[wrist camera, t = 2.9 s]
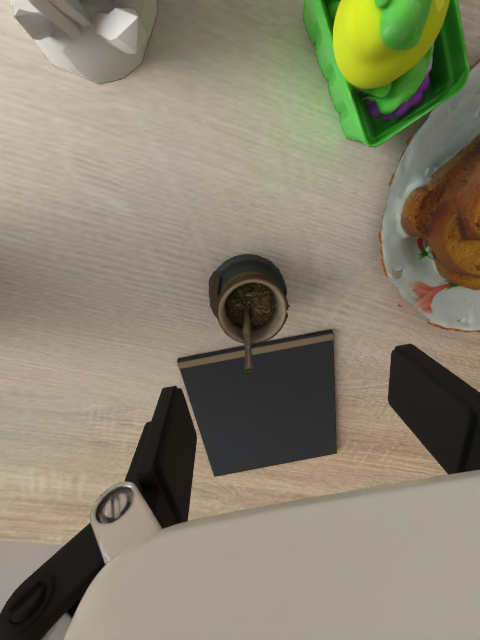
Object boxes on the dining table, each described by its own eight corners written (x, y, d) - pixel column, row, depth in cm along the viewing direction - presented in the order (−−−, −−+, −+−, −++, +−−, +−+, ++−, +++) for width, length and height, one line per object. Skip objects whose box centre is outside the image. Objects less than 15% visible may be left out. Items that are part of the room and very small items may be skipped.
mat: (177, 358, 30) (177, 361, 29) (331, 329, 30) (333, 331, 29) (214, 473, 38) (214, 477, 37) (335, 450, 38) (337, 454, 37)
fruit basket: (420, 109, 22) (599, 21, 12) (326, 171, 23) (412, 142, 13) (375, -69, 18) (595, -456, 7) (264, 20, 19) (318, -202, 9)
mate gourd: (278, 246, 26) (312, 267, 16) (278, 316, 29) (307, 367, 19) (206, 251, 25) (198, 275, 16) (213, 321, 28) (211, 376, 19)
